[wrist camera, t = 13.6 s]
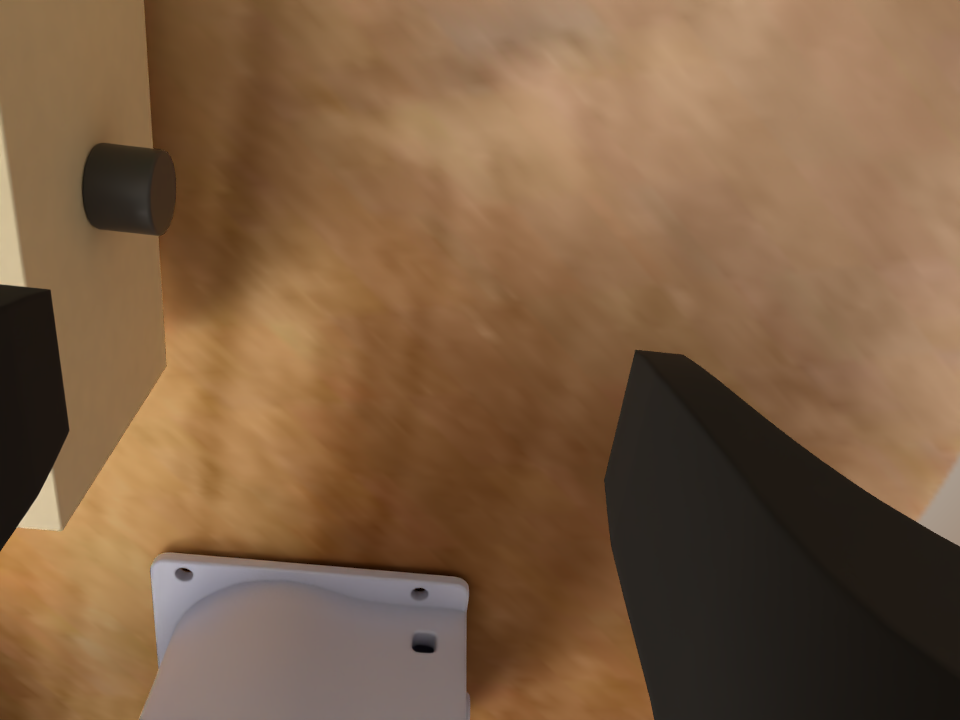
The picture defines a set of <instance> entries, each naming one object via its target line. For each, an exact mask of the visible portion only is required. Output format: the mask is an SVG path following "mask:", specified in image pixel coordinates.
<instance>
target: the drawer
mask: <svg viewBox="0 0 960 720" xmlns="http://www.w3.org/2000/svg"><path fill="white" fill-rule="evenodd" d="M175 199H176V177H175V170H174V165H173V162H172V159H171V156H170V155H169V153H168V152H166V151H164V150H161V149H153V140H152V124H151V108H150V92H149V76H148V60H147V44H146V28H145V12H144V0H0V284H2V285H12V286H22V287H31V288H41V289H51V296H52V303H53V311H54V318H55V326H56V333H57V340H58V348H59V355H60V363H61V370H62V377H63V385H64V392H65V400H66V407H67V415H68V422H69V429H70V431H69V433H68V435H67V438H66V440H65V442H64V444H63V446H62V448H61V450H60V453H59V455H58V457H57V459H56V461H55V463H54V466H53V468H52V470H51V472H50V473H49V475H48V477H47V479H46V481H45V483H44V485H43V487H42V489H41V491H40V493H39V495H38V497H37V498H36V500H35V501H34V503H33V504H32V506H31V507H30V509H29V510H28V512H27V513H26V515H25V516H24V518H23V519H22V520H21V522H20V523H19V525H18V526H17V527H18V528H30V529H41V530H53V531H62V530H63V529H64V527H65V526H66V524H67V523H68V521H69V520H70V518H71V516H72V515H73V513H74V512H75V510H76V508H77V507H78V505H79V504H80V502H81V501H82V499H83V497H84V496H85V494H86V493H87V491H88V490H89V488H90V486H91V485H92V483H93V482H94V480H95V478H96V477H97V475H98V474H99V472H100V471H101V469H102V467H103V466H104V464H105V463H106V461H107V459H108V458H109V456H110V455H111V453H112V452H113V450H114V448H115V447H116V445H117V444H118V442H119V441H120V439H121V437H122V436H123V434H124V433H125V431H126V429H127V428H128V426H129V425H130V423H131V422H132V420H133V418H134V417H135V415H136V414H137V412H138V411H139V409H140V407H141V406H142V404H143V403H144V401H145V399H146V398H147V396H148V395H149V393H150V392H151V390H152V388H153V387H154V385H155V384H156V382H157V380H158V379H159V377H160V376H161V374H162V373H163V371H164V369H165V368H166V366H167V365H166V349H165V333H164V316H163V300H162V284H161V268H160V252H159V236H160V235H163V234H164V233H165V232H166V231H167V229H168V227H169V225H170V223H171V220H172V216H173V212H174V207H175Z"/></svg>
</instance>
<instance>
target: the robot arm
mask: <svg viewBox="0 0 960 720" xmlns="http://www.w3.org/2000/svg"><path fill="white" fill-rule="evenodd" d="M69 431H70V429H69V422H68V415H67V407H66V400H65V392H64V385H63V377H62V370H61V363H60V355H59V348H58V340H57V333H56V326H55V318H54V311H53V303H52V296H51V289H41V288H31V287H22V286H12V285H2V284H0V551H1V549H2V548H3V547H4V545H5V544H6V542H7V541H8V539H9V538H10V536H11V535H12V533H13V532H14V531H15V529H16V528H17V526H18V525H19V523H20V522H21V520H22V519H23V518H24V516H25V515H26V513H27V512H28V510H29V509H30V507H31V506H32V504H33V503H34V501H35V500H36V498H37V497H38V495H39V493H40V491H41V489H42V487H43V485H44V483H45V481H46V479H47V477H48V475H49V473H50V472H51V470H52V468H53V466H54V463H55V461H56V459H57V457H58V455H59V453H60V450H61V448H62V446H63V444H64V442H65V440H66V438H67V435H68V433H69ZM604 483H605V493H606V504H607V514H608V523H609V531H610V540H611V547H612V551H613V555H614V560H615V564H616V568H617V572H618V576H619V580H620V584H621V588H622V592H623V596H624V600H625V604H626V608H627V611H628V615H629V619H630V623H631V627H632V631H633V635H634V638H635V642H636V646H637V650H638V654H639V658H640V662H641V665H642V669H643V673H644V677H645V681H646V685H647V689H648V693H649V696H650V701H651V705H652V710H653V715H654V720H960V546H958V545H956V544H954V543H952V542H950V541H949V540H947V539H945V538H943V537H941V536H939V535H938V534H936V533H934V532H932V531H931V530H929V529H927V528H926V527H924V526H922V525H921V524H919V523H917V522H916V521H914V520H912V519H911V518H909V517H907V516H905V515H904V514H902V513H900V512H899V511H897V510H895V509H894V508H892V507H890V506H889V505H887V504H885V503H884V502H882V501H880V500H879V499H877V498H876V497H874V496H873V495H871V494H870V493H868V492H866V491H865V490H863V489H862V488H860V487H859V486H857V485H856V484H854V483H853V482H851V481H850V480H849V479H847V478H846V477H844V476H843V475H841V474H840V473H839V472H837V471H836V470H834V469H833V468H831V467H830V466H829V465H827V464H826V463H824V462H823V461H821V460H820V459H819V458H817V457H816V456H814V455H813V454H812V453H810V452H809V451H808V450H806V449H805V448H804V447H802V446H801V445H800V444H798V443H797V442H796V441H794V440H793V439H792V438H790V437H789V436H788V435H786V434H785V433H784V432H782V431H781V430H780V429H779V428H777V427H776V426H775V425H774V424H772V423H771V422H770V421H768V420H767V419H766V418H765V417H763V416H762V415H761V414H760V413H758V412H757V411H756V410H755V409H753V408H752V407H751V406H750V405H748V404H747V403H746V402H745V401H743V400H742V399H741V398H740V397H739V396H737V395H736V394H735V393H734V392H732V391H731V390H730V389H729V388H727V387H726V386H725V385H724V384H722V383H721V382H720V381H719V380H717V379H716V378H715V377H714V376H712V375H711V374H710V373H708V372H707V371H706V370H705V369H703V368H702V367H701V366H699V365H698V364H696V363H695V362H694V361H692V360H691V359H689V358H687V357H686V356H684V355H681V354H671V353H661V352H652V351H642V350H635V354H634V358H633V362H632V366H631V370H630V374H629V379H628V383H627V387H626V391H625V395H624V399H623V404H622V408H621V412H620V416H619V420H618V425H617V429H616V433H615V437H614V441H613V445H612V450H611V454H610V458H609V462H608V466H607V471H606V475H605V479H604ZM181 568H186V569H189V570H190V571H191V572H187V571H183V570H182V569H181ZM150 575H151V587H152V599H153V610H154V622H155V634H156V646H157V658H158V672H157V675H156V677H155V680H154V682H153V685H152V687H151V690H150V692H149V695H148V697H147V700H146V703H145V705H144V708H143V710H142V713H141V715H140V718H139V720H470V695H469V693H468V692H466V640H467V607H468V600H469V586H468V584H467V582H466V581H465V580H463V579H461V578H458V577H454V576H442V575H430V574H418V573H407V572H395V571H383V570H371V569H360V568H348V567H336V566H324V565H313V564H301V563H289V562H278V561H266V560H254V559H242V558H231V557H219V556H207V555H195V554H184V553H172V552H167V553H161V554H159V555H157V556H156V558H155V559H154V561H153V563H152V565H151V569H150ZM415 588H423V589H425V591H417V590H415Z"/></svg>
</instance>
